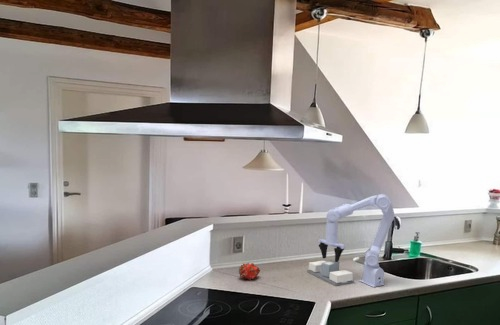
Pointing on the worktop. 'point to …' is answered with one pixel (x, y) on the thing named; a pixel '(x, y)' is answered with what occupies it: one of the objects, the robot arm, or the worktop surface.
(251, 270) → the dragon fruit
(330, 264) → the block
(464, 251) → the worktop surface
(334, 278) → the rail board
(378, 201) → the robot arm
